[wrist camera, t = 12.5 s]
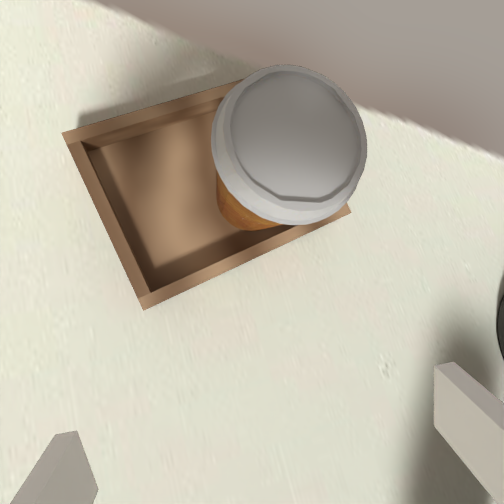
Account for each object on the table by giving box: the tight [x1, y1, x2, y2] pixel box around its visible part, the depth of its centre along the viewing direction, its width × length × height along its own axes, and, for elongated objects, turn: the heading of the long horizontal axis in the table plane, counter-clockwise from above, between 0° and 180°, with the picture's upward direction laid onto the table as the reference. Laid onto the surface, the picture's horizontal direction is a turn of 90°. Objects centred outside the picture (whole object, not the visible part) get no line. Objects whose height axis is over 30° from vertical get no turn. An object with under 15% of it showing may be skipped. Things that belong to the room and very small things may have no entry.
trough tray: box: [62, 79, 351, 311], centre depth 28 cm, size 20×15×3 cm
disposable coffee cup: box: [211, 65, 367, 231], centre depth 23 cm, size 10×10×12 cm
